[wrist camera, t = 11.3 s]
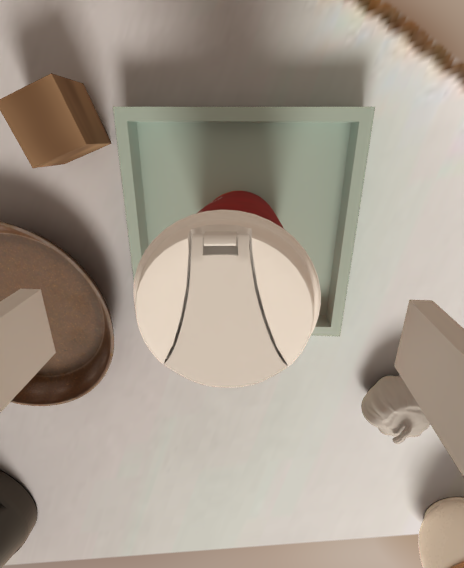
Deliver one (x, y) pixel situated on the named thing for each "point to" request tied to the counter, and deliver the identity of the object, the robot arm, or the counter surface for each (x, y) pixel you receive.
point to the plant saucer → (58, 316)
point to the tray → (251, 177)
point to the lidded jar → (443, 534)
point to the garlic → (394, 409)
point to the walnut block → (54, 121)
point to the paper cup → (227, 294)
